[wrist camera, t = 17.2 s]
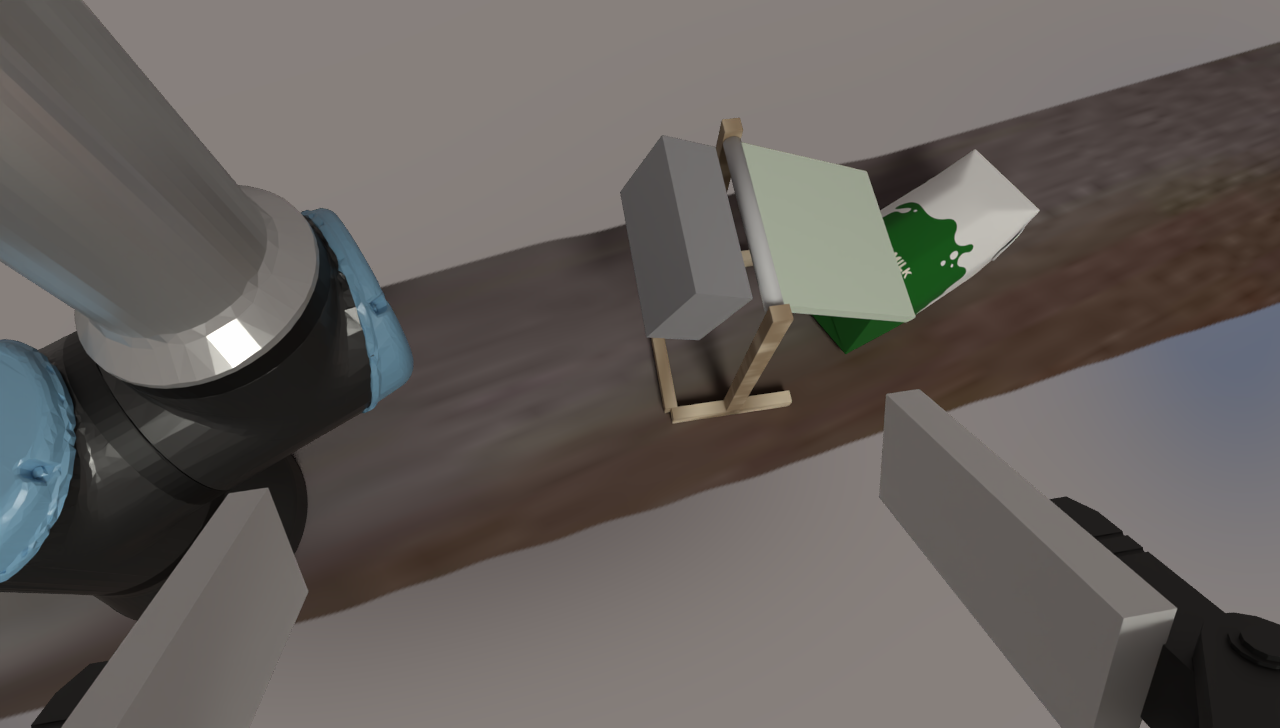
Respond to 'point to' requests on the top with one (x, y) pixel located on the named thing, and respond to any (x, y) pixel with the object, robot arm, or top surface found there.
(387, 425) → the top surface
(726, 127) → the trapdoor stand
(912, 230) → the soya milk
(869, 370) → the top surface
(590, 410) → the top surface
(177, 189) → the robot arm
